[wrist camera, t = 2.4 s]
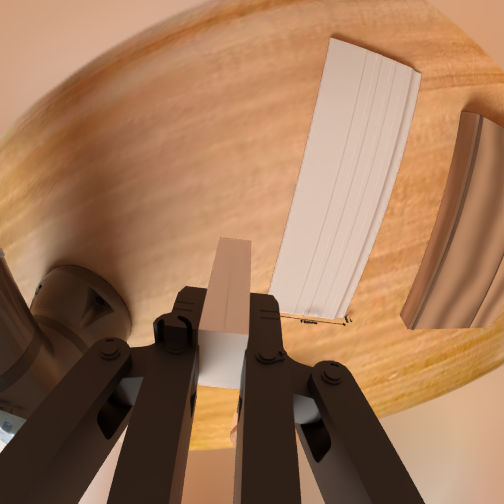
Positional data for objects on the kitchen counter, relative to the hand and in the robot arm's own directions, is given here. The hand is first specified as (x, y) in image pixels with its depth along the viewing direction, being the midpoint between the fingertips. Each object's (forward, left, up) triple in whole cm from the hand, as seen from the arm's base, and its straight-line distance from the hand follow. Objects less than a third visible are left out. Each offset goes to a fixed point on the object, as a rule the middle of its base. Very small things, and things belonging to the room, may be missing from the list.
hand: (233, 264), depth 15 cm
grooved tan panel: (+32, -1, -17) cm, 37 cm away
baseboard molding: (+11, 0, -18) cm, 21 cm away
